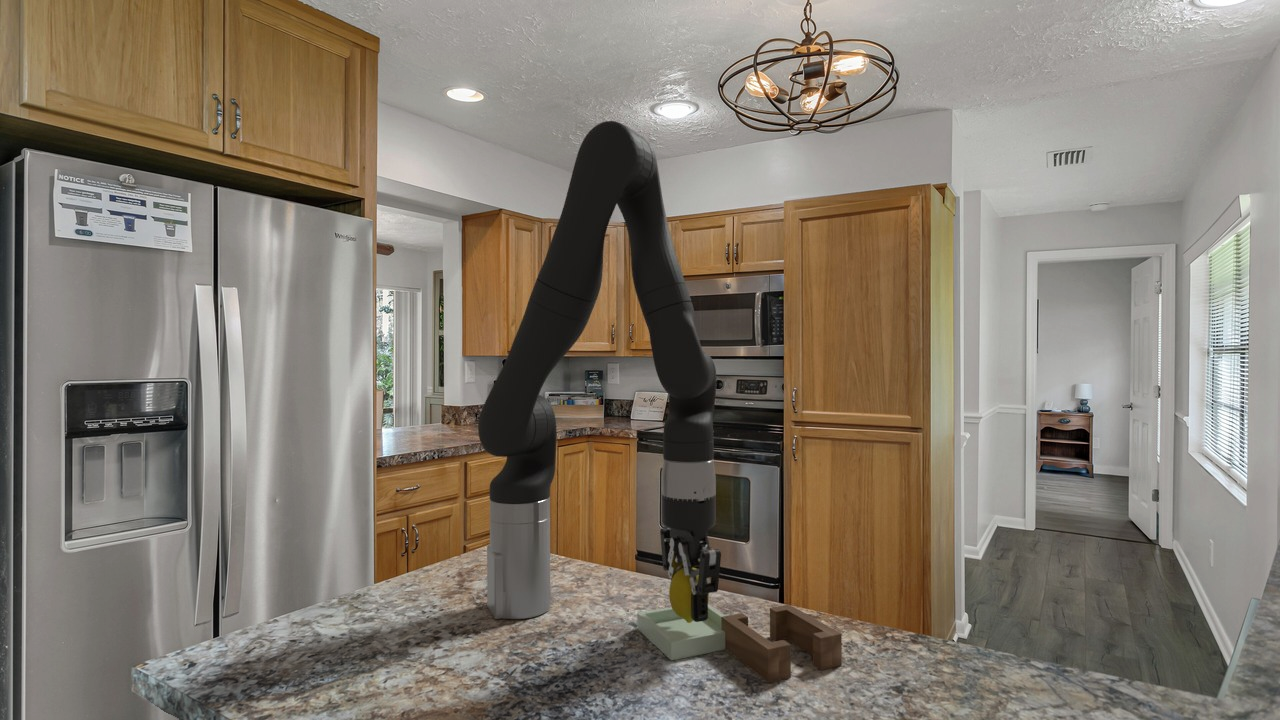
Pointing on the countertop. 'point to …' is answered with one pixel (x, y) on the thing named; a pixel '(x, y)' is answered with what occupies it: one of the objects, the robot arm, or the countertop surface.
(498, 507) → the robot arm
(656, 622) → the dish
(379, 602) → the countertop surface
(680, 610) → the lemon
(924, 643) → the countertop surface
